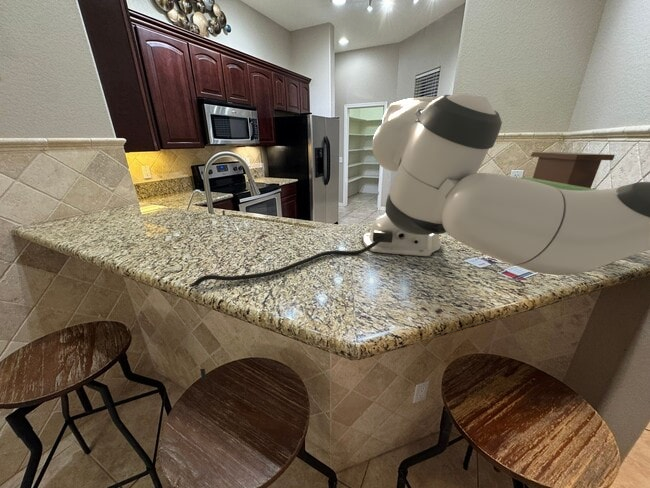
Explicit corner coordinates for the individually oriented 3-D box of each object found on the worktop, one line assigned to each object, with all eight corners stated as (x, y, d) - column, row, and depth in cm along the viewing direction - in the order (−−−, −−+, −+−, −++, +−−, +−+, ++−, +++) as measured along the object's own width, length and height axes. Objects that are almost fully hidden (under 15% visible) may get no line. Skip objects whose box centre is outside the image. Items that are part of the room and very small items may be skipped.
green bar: (603, 205, 55) (608, 193, 54) (517, 185, 79) (520, 177, 78) (617, 205, 55) (622, 193, 54) (527, 185, 79) (530, 177, 78)
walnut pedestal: (545, 246, 78) (577, 154, 68) (509, 229, 93) (532, 151, 83) (578, 246, 78) (615, 154, 68) (537, 229, 93) (563, 152, 83)
